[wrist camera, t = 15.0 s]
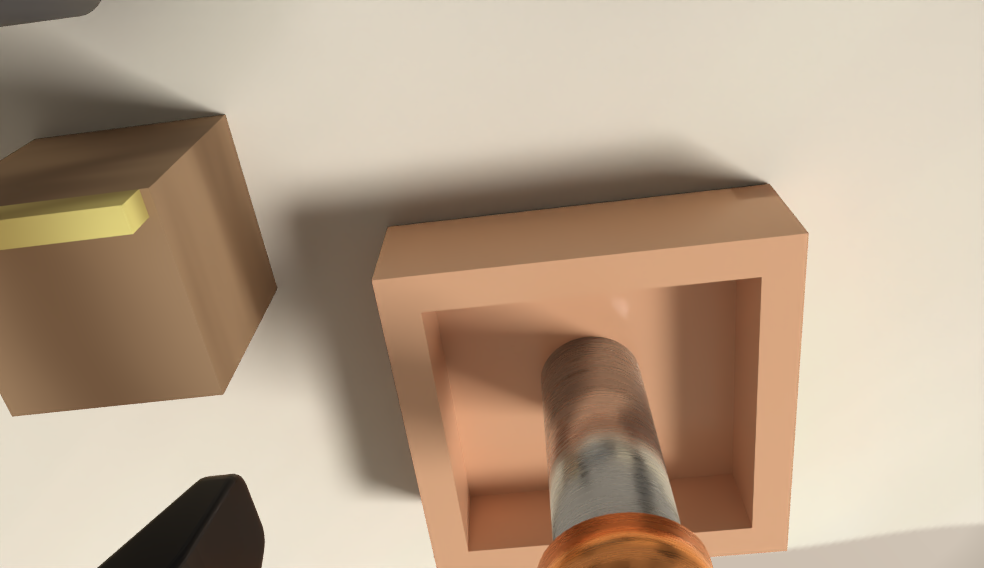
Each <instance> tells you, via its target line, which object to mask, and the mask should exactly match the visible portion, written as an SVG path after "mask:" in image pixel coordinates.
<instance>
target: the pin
mask: <svg viewBox="0 0 984 568" xmlns="http://www.w3.org/2000/svg"><path fill="white" fill-rule="evenodd" d="M541 388H542V401H543V415H544V429H545V442H546V456H547V469H548V483H549V496H550V510H551V523H552V537H553V542H552V543H551V544H550V545H549V546H548V547H547V549H546V550H545V552H544V553H543V555H542V557H541V559H540V561H539V564H538V567H537V568H713V566H712V562H711V559H710V555H709V553H708V551H707V549H706V547H705V545H704V544H703V543H702V541H701V540H700V539H699V538H698V537H697V536H696V535H695V534H694V533H693V532H692V531H690V530H689V529H688V528H686V527H685V526H683V525H681V523H680V519H679V516H678V512H677V508H676V504H675V500H674V497H673V493H672V489H671V485H670V481H669V478H668V474H667V470H666V466H665V463H664V459H663V455H662V451H661V447H660V444H659V440H658V436H657V432H656V428H655V425H654V421H653V417H652V413H651V410H650V406H649V402H648V398H647V394H646V391H645V387H644V383H643V379H642V376H641V372H640V368H639V365H638V362H637V360H636V358H635V357H634V355H633V354H632V353H631V352H630V350H629V349H627V348H626V347H625V346H624V345H622V344H620V343H619V342H616V341H614V340H611V339H608V338H603V337H583V338H578V339H575V340H572V341H569V342H567V343H565V344H563V345H562V346H560V347H559V348H557V349H556V350H555V351H554V352H553V353H552V354H551V355H550V356H549V358H548V359H547V361H546V362H545V364H544V367H543V370H542V373H541Z"/></svg>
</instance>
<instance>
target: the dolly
mask: <svg viewBox="0 0 984 568" xmlns="http://www.w3.org/2000/svg"><path fill="white" fill-rule="evenodd" d="M100 1H101V0H0V27H3V26H10V25H18V24H25V23H33V22H40V21H47V20H55V19H62V18H69V17H77V16H82V15H86V14H88V13H90V12H91V11H93V10H94V9H95V8H96V7H97V6H98V4H99V3H100Z"/></svg>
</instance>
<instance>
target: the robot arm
mask: <svg viewBox="0 0 984 568" xmlns="http://www.w3.org/2000/svg"><path fill="white" fill-rule="evenodd" d="M264 546H265V539H264V531H263V527H262V524H261V521H260V519H259V516H258V513H257V511H256V508H255V506H254V503H253V500H252V498H251V495H250V493H249V490H248V488H247V485H246V483H245V481H244V480H243V478H242V477H241V476H239V475H236V474H227V475H217V476H208V477H204V478H202V479H200V480H199V481H197V482H196V483H195V484H194V485H192V486H191V487H190V488H189V489H188V490H187V491H186V492H184V493H183V494H182V495H181V496H180V497H179V498H177V499H176V500H175V501H174V502H173V503H172V504H171V505H169V506H168V507H167V508H166V509H165V510H164V511H162V512H161V513H160V514H159V515H158V516H157V517H155V518H154V519H153V520H152V521H151V522H150V523H149V524H147V525H146V526H145V527H144V528H143V529H142V530H140V531H139V532H138V533H137V534H136V535H135V536H134V537H132V538H131V539H130V540H129V541H128V542H127V543H125V544H124V545H123V546H122V547H121V548H120V549H118V550H117V551H116V552H115V553H114V554H113V555H112V556H110V557H109V558H108V559H107V560H106V561H105V562H103V563H102V564H101V565H100V566H99V567H98V568H261V567H262V561H263V554H264Z"/></svg>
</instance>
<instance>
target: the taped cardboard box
mask: <svg viewBox="0 0 984 568" xmlns="http://www.w3.org/2000/svg"><path fill="white" fill-rule="evenodd" d="M276 290H277V286H276V283H275V279H274V276H273V273H272V269H271V266H270V263H269V259H268V256H267V252H266V249H265V246H264V242H263V239H262V236H261V232H260V229H259V226H258V222H257V219H256V216H255V212H254V209H253V206H252V202H251V199H250V195H249V192H248V189H247V185H246V182H245V179H244V175H243V172H242V169H241V165H240V162H239V159H238V155H237V152H236V148H235V145H234V142H233V138H232V135H231V132H230V128H229V125H228V122H227V118H226V115H218V116H210V117H202V118H194V119H187V120H179V121H171V122H164V123H156V124H148V125H140V126H133V127H125V128H117V129H110V130H102V131H94V132H86V133H79V134H71V135H63V136H56V137H48V138H40V139H34V140H33V141H31V142H29V143H28V144H26V145H25V146H23V147H21V148H20V149H18V150H17V151H15V152H13V153H12V154H10V155H9V156H7V157H5V158H4V159H2V160H0V394H1V396H2V398H3V400H4V402H5V404H6V406H7V407H8V409H9V411H10V413H11V415H12V416H22V415H31V414H41V413H50V412H60V411H70V410H79V409H89V408H99V407H108V406H118V405H127V404H137V403H147V402H156V401H166V400H176V399H185V398H195V397H204V396H214V395H223V394H224V392H225V390H226V388H227V386H228V384H229V382H230V380H231V378H232V376H233V374H234V372H235V371H236V369H237V367H238V365H239V363H240V361H241V359H242V357H243V355H244V353H245V351H246V349H247V347H248V345H249V343H250V341H251V339H252V337H253V335H254V333H255V331H256V329H257V327H258V325H259V323H260V322H261V320H262V318H263V316H264V314H265V312H266V310H267V308H268V306H269V304H270V302H271V300H272V298H273V296H274V294H275V292H276Z"/></svg>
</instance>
